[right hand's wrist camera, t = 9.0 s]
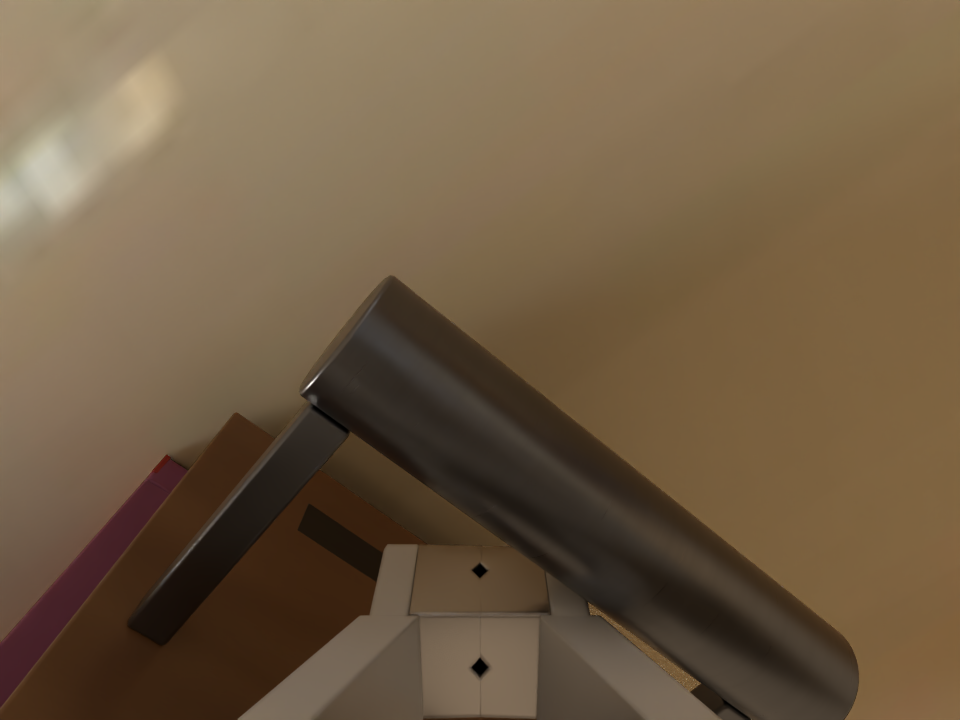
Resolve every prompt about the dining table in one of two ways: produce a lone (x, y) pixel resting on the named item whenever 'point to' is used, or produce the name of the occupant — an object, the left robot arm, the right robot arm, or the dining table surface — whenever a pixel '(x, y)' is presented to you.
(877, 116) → the dining table surface
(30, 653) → the cabinet
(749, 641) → the drawer
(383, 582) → the right robot arm
